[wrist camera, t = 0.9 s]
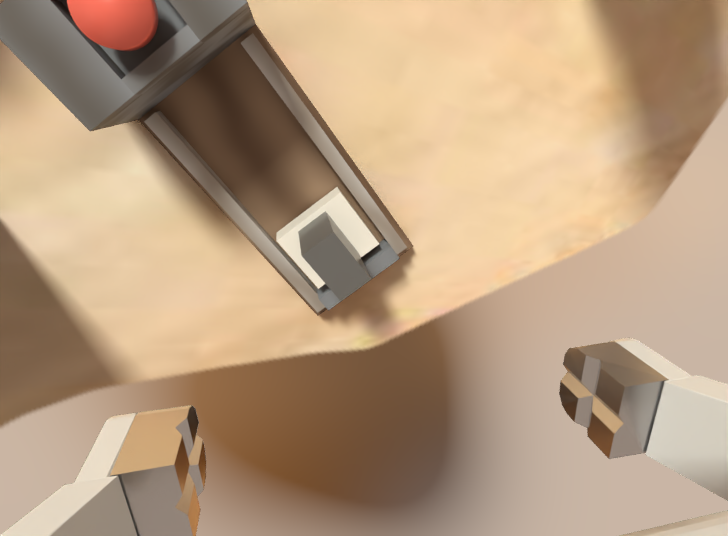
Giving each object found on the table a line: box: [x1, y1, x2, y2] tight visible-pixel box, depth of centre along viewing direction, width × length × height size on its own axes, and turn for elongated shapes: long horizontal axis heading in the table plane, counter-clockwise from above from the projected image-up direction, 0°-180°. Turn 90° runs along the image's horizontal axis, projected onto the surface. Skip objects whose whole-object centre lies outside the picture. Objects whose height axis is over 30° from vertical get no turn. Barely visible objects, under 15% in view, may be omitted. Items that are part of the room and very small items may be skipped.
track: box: [0, 0, 413, 316], centre depth 34 cm, size 12×31×12 cm, turn 35°
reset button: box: [67, 0, 158, 51], centre depth 23 cm, size 4×4×2 cm
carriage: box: [276, 187, 379, 301], centre depth 38 cm, size 7×6×8 cm
